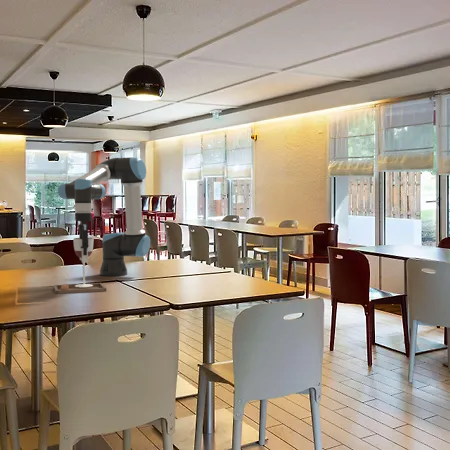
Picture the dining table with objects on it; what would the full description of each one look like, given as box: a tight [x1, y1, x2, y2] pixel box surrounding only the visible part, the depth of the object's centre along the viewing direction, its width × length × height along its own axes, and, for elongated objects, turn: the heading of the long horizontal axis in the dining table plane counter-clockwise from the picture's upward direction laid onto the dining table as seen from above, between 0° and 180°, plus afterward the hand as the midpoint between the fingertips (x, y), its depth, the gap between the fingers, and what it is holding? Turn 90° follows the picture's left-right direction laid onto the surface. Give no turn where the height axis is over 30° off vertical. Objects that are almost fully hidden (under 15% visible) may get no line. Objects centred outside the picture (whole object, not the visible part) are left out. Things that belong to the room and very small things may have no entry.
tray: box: [53, 282, 107, 295], centre depth 265 cm, size 22×16×2 cm
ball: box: [61, 283, 69, 290], centre depth 259 cm, size 4×4×4 cm
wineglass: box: [73, 237, 94, 287], centre depth 266 cm, size 9×10×22 cm
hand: (83, 261), depth 266 cm, fingers closed on wineglass, 9 cm apart
